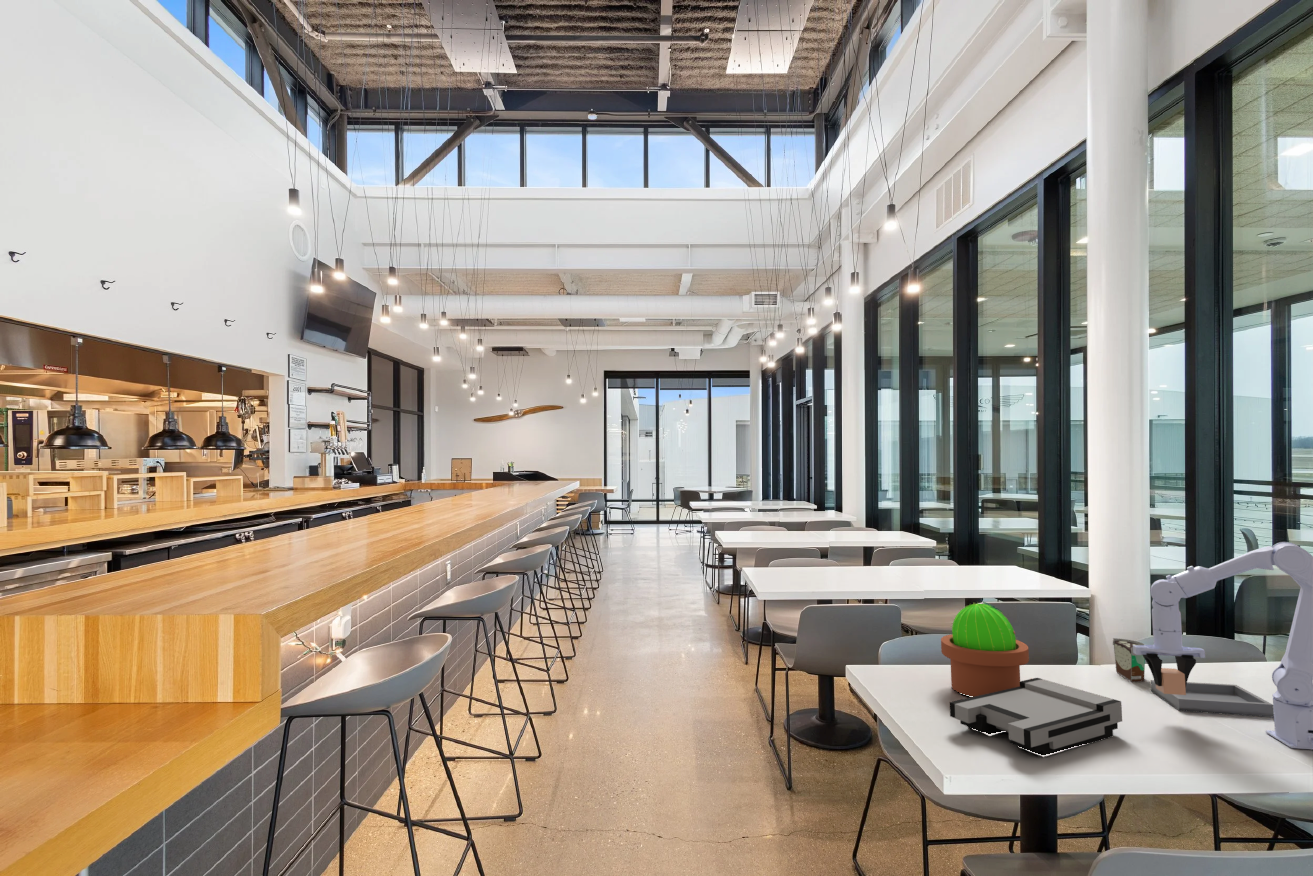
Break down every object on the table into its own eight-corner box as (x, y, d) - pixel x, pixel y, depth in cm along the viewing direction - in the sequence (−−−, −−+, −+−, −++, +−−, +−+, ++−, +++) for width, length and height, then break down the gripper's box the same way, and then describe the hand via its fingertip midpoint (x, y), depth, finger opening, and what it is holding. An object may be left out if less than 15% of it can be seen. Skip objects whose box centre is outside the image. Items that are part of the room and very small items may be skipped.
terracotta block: (1185, 695, 163) (1184, 674, 163) (1164, 693, 164) (1163, 672, 164) (1176, 689, 167) (1175, 668, 167) (1155, 688, 168) (1154, 667, 168)
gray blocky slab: (950, 732, 161) (949, 697, 161) (1038, 709, 175) (1037, 677, 175) (1031, 765, 142) (1030, 725, 143) (1123, 737, 156) (1121, 701, 156)
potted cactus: (953, 703, 180) (950, 608, 181) (935, 678, 201) (931, 593, 202) (1043, 707, 176) (1038, 610, 177) (1014, 681, 197) (1010, 595, 199)
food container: (1158, 684, 192) (1156, 649, 193) (1134, 683, 193) (1132, 648, 194) (1136, 671, 204) (1134, 638, 205) (1114, 671, 206) (1112, 637, 206)
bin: (1273, 717, 166) (1273, 704, 166) (1179, 711, 171) (1178, 699, 171) (1236, 696, 181) (1236, 684, 182) (1151, 691, 187) (1150, 680, 187)
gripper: (1193, 627, 168) (1196, 682, 167) (1126, 624, 172) (1129, 678, 171) (1208, 633, 161) (1211, 691, 161) (1138, 631, 165) (1141, 687, 164)
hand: (1170, 685), depth 165 cm, fingers closed on terracotta block, 4 cm apart
